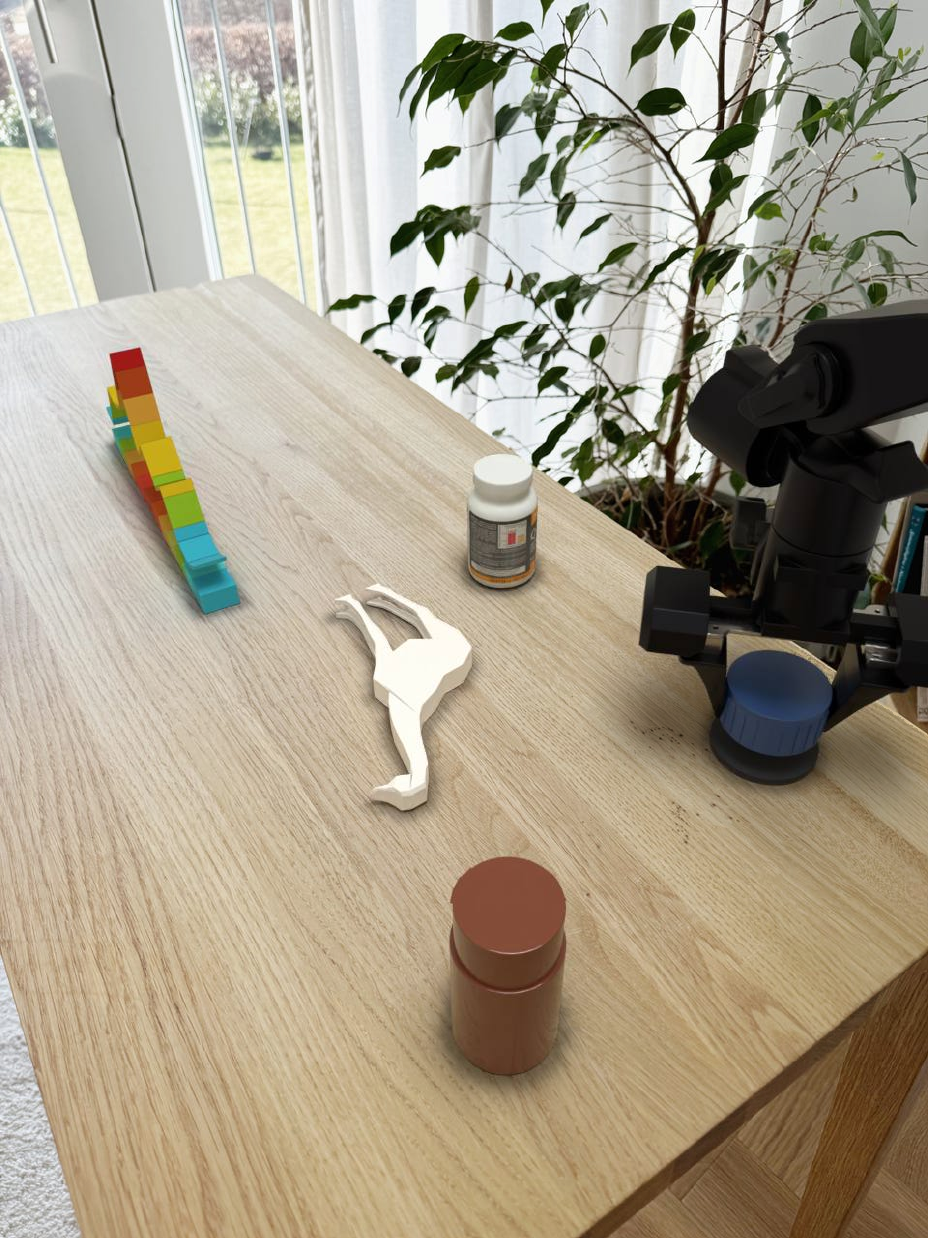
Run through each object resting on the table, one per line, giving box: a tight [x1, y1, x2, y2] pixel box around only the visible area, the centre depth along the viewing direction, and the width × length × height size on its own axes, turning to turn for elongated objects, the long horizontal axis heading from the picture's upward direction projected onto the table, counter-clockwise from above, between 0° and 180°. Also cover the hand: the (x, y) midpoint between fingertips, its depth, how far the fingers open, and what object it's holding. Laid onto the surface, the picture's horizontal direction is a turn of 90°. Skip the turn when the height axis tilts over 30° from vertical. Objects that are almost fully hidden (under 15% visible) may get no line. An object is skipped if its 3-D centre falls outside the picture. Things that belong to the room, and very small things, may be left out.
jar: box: [448, 855, 567, 1076], centre depth 48 cm, size 6×6×11 cm
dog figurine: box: [334, 582, 473, 812], centre depth 70 cm, size 2×13×20 cm
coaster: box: [708, 716, 820, 786], centre depth 66 cm, size 7×7×1 cm
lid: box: [720, 649, 833, 756], centre depth 64 cm, size 7×7×3 cm
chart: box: [105, 347, 241, 615], centre depth 84 cm, size 30×3×15 cm, turn 28°
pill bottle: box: [466, 453, 539, 589], centre depth 79 cm, size 6×6×10 cm
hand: (769, 720), depth 65 cm, fingers closed on lid, 6 cm apart
